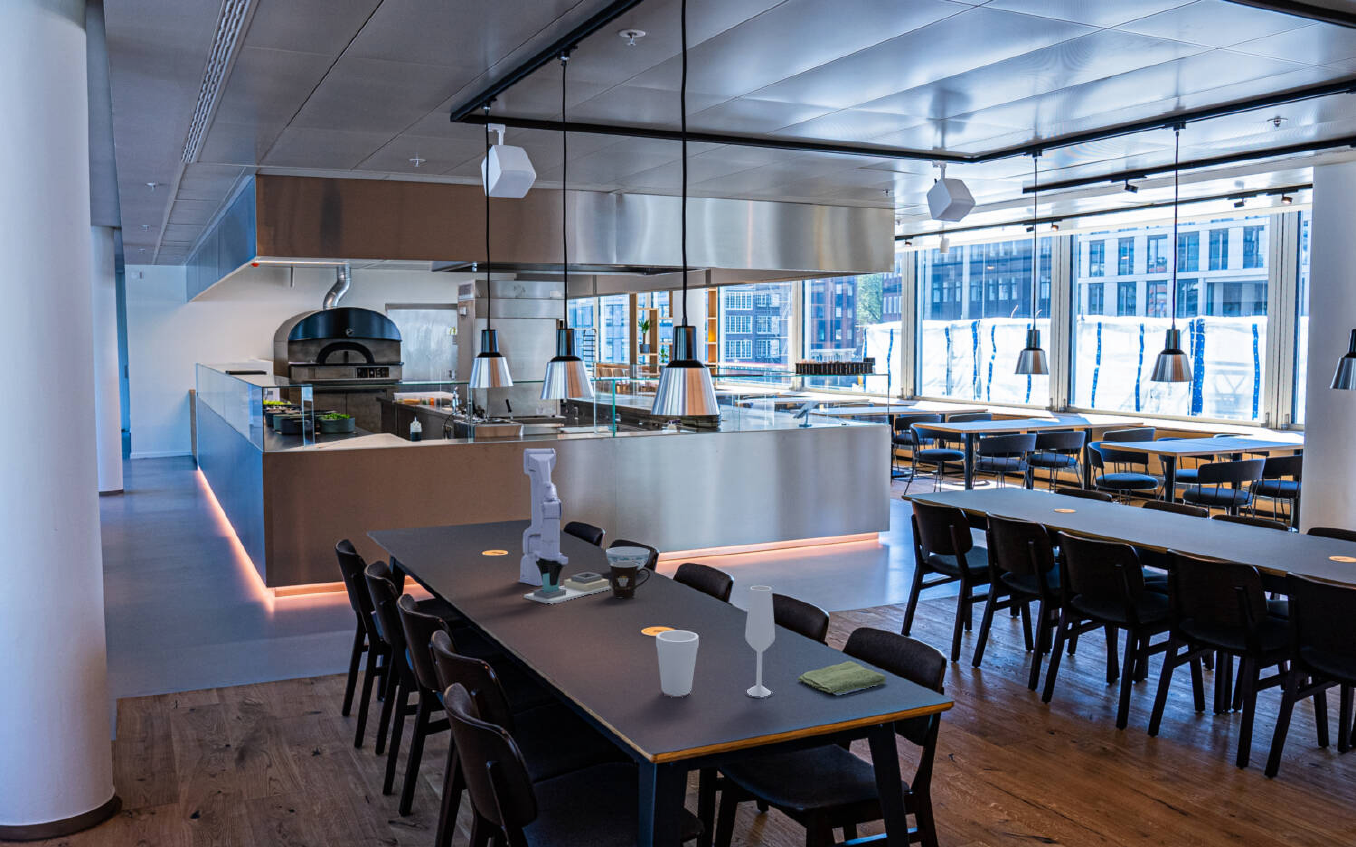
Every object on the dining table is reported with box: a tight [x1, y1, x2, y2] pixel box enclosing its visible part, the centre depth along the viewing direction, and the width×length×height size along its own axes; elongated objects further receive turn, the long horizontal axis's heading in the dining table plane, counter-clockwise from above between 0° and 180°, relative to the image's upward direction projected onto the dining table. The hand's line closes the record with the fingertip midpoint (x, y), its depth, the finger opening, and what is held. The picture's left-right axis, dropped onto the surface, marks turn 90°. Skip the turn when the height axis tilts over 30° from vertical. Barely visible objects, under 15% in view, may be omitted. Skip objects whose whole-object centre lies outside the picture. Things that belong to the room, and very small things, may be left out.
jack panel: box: [524, 571, 612, 605], centre depth 319 cm, size 12×26×4 cm, turn 141°
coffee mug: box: [609, 561, 651, 599], centre depth 317 cm, size 12×9×10 cm
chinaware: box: [605, 546, 651, 570], centre depth 350 cm, size 15×15×8 cm
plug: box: [542, 573, 560, 593], centre depth 313 cm, size 3×4×6 cm
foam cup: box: [655, 629, 700, 696], centre depth 228 cm, size 10×9×13 cm
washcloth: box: [797, 660, 887, 694], centre depth 237 cm, size 13×18×3 cm
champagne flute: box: [744, 585, 776, 697], centre depth 228 cm, size 7×7×24 cm
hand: (549, 584), depth 313 cm, fingers closed on plug, 3 cm apart
